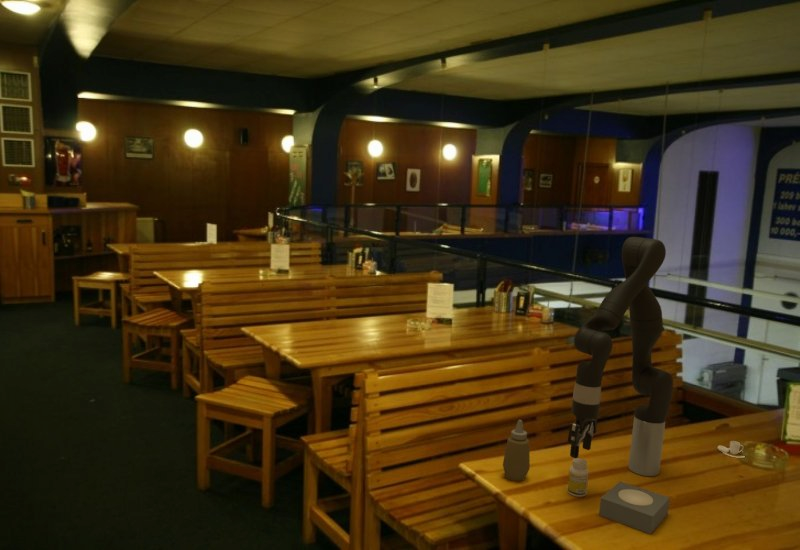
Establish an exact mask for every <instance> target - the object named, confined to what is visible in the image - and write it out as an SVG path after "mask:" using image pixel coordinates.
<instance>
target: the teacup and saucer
mask: <svg viewBox="0 0 800 550" xmlns="http://www.w3.org/2000/svg"><path fill="white" fill-rule="evenodd" d="M740 447H742V448H741V450H740ZM744 448H745V447H744V445H742V444H741V443H740V442H739V441H735V440H731V441H729V447H726V446H724V445H718V446H717V450H718V451H720V452H721V453H723V454H724V455H725V456H728V457H732V458H737V459H744V458H746V457H745V456H742V455H741V456H736V455H737V454H741V453H740V452H741V451H742V452H743V450H744ZM739 450H740V451H739ZM729 452H730V453H731V454H732V455H731V454H729Z"/></svg>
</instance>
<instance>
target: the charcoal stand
mask: <svg viewBox="0 0 800 550" xmlns="http://www.w3.org/2000/svg"><path fill="white" fill-rule="evenodd" d="M670 500H671V497H669V496H665V495H663V494H661V493H657V492H654V491H651V490H647V489H644V488H641V487H639V486H635V485H633V484H630V483H626V482H624V481H621V480H620V481H618V482H617V483H616V484H614V486H612V488H611V489H609V490H608V491H607V492H606V493H604V495H603V496H602V497H600V503H599V512H598V515H599V516H601V517H603V518H606V519H608V520H611V521H614V522H616V523H619V524H621V525H625V526H627V527H629V528H633V529H635V530H638V531H641V532H643V533H646V534H649V535H652V534H653V532H654V531H655V530H656V529H657V528H658V526H659V525H660V524H661V523H662V522H663V521H664V519H666V517H667V516H668V514H669V509H670V508H669V507H670Z"/></svg>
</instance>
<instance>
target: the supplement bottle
mask: <svg viewBox="0 0 800 550" xmlns="http://www.w3.org/2000/svg"><path fill="white" fill-rule="evenodd" d="M587 465H588V462H587V460H585V459H584V458H579V457H578V458H573V459H572V465H571V466H570V467H569V470H568V483H567V493H568V494H570V495H571V496H574V497H577V498H578V497H580V498H582V497H585V496H586V495H587V492H588V482H589V475H590V474H589V473H590V472H589V469H588V468H587Z"/></svg>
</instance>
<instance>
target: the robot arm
mask: <svg viewBox="0 0 800 550" xmlns="http://www.w3.org/2000/svg"><path fill="white" fill-rule="evenodd" d="M666 252H667V251H666V246H665V244H664V242H663V241H661V240H659V239H657V238H647V237H640V236H630V237H627V238H626V239H625V240H624V242H623V245H622V247H621V260H622V261H621V262H622V267H623V268H622V269H623V272H624V278H625V280H624V281H622V282H621V283H620V284H618V285H617V286H615V287H614V288H613V289H611V290H610V291H609V292H608V293H607V294H606V295H605V297H603V299H602V301H601V303H600V305H599V306H598V308H597V309H596V311H595V313H594V314H593V315H592V316H591V317H590V318H588V319H587V321H586V322H584V323H583V324H582V325H581V326H580V327H579V328H578V330H577V331H576V332H575V335H574V338H573V345H574V348H575V349H576V351H578V352H579V353H583V354H586V355H590V356H591V359H590V361H581V362H579V363H578V365H577V368H576V376H575V383H574V387H573V394H572V400H571V402H572V403H571V411H570V412H571V414H572V415H573V416H574V417H575V421H574V422H570V423H569V430H568V436H567V444H569V445H570V451H569V453H570V454H569V456H570V458H573V459H575V458H579V454H580V445H581V443H582V449H584V450H586V451H590V450H591V449H592V439H593V437H594V434H596V433H597V429H598V428H597V426H598V418H599V414H600V406H601V398H602V382H603V381H602V380H603V372H604V370H605V368H606V365H607V362H608V359H609V358H610V356H611V353H612V350H613V340H612V338H611V336H610V335H609V334H608V333H605V332H603V331H611V330H615V329H617V327H618V326H619V324H620V322H621V321H622V319H623V318H624V316H625V314H626V312H627V310H629V322H630V323H629V324H630V325H629V326H630V333H631V345H632V346H631V347H632V362H631V363H632V364H631V365H632V367H631V378H632V386H633V389H634V390H635V392H637V393H638V394H640V395H643V396H645V397H647V398H649V401H648V402H649V403H648V404H640V405H637V406H635V409H634V414H633V417H634V418H633V424H632V425H633V426H632V432H631V443H630V448H629V449H630V451H629V456H628V458H629V459H628V470H630V471H631V472H632V473H634V474H637V475H639V476H644V477H655V476H658V475H659V474H660V467H661V460H662V452H663V443H664V436H665V427H666V419H667V416H668V413H669V410H670V407H671V405H670V404H671V400H672V394H673V391H674V390H673V389H674V378H673V376H672V374H671V373H670V372H668V371H666V370H663V369H659V368H657V367H654V366H653V363H652V350H653V348H654V347H655V345H656V343H657V342H658V341H659V338H660V337H661V336H662V333H663V330H664V327H663V326H664V324H663V323H664V321H663V311H662V306H661V305H660V302H659V301H658V299H657V297H656V296H655V294H654V293H653V291H652V289H651V288H650V286H649V285H648V283H649V282H650V280H651V279H652V278H653V277H654V275H656V273H657V272H658V271H659V269H660V268H661V267H662V264H663V263H664V261H665V259H666V255H667V254H666Z"/></svg>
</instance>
